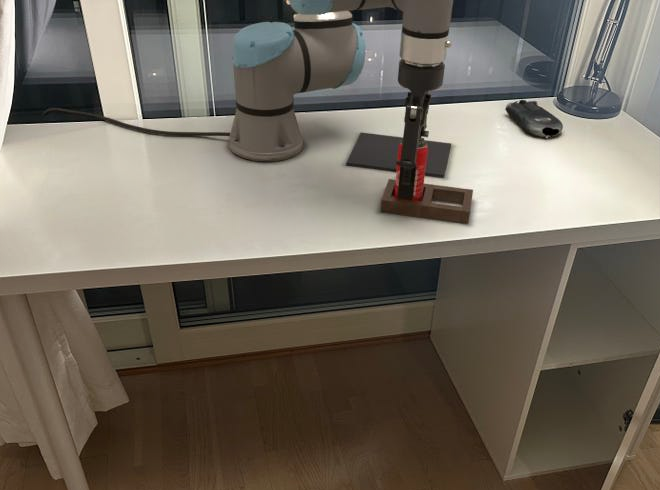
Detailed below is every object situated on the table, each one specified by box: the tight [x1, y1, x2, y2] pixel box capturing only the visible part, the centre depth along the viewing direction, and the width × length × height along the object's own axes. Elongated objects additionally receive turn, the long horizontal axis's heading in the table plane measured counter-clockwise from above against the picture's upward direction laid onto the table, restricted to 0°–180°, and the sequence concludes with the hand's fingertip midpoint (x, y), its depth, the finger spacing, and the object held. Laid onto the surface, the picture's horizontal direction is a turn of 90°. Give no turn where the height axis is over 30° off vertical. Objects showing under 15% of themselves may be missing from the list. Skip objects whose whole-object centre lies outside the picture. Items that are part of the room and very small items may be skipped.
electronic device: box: [504, 99, 564, 139], centre depth 162 cm, size 9×6×15 cm
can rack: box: [379, 178, 474, 225], centre depth 130 cm, size 16×9×2 cm, turn 79°
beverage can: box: [393, 138, 428, 201], centre depth 128 cm, size 5×5×12 cm
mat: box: [345, 131, 452, 179], centre depth 148 cm, size 20×16×1 cm
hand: (409, 184), depth 129 cm, fingers open, 11 cm apart
